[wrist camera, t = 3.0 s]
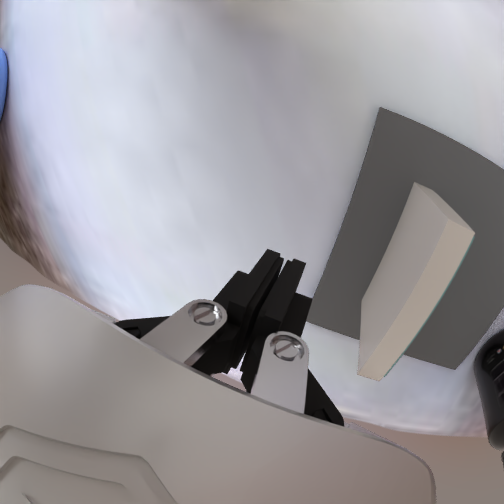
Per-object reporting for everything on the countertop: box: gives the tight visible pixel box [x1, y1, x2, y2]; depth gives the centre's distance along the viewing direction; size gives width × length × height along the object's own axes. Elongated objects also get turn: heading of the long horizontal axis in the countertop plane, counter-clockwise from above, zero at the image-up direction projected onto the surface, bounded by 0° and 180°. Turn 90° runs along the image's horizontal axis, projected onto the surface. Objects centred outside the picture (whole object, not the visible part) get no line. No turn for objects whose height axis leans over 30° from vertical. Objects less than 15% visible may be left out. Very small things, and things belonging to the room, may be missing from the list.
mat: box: [306, 107, 504, 370], centre depth 16 cm, size 16×15×1 cm
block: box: [357, 182, 475, 381], centre depth 14 cm, size 9×2×7 cm, turn 167°
